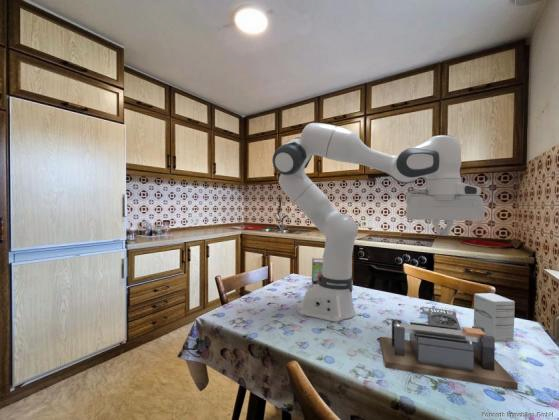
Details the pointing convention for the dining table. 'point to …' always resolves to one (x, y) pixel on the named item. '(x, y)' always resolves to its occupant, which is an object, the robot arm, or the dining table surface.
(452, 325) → the graphics card
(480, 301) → the supplement box
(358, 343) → the dining table surface
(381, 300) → the dining table surface
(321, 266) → the tea box
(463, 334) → the bar
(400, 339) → the heatsink board
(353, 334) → the dining table surface
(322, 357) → the dining table surface
